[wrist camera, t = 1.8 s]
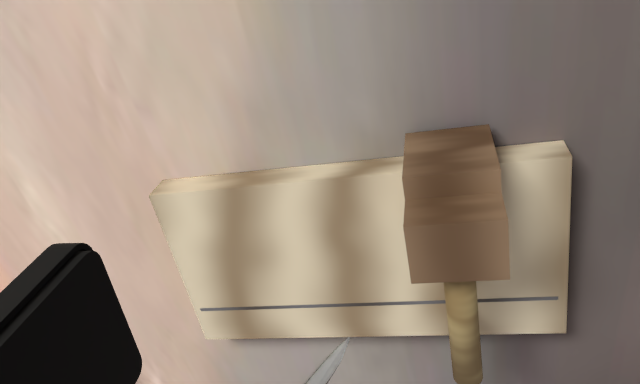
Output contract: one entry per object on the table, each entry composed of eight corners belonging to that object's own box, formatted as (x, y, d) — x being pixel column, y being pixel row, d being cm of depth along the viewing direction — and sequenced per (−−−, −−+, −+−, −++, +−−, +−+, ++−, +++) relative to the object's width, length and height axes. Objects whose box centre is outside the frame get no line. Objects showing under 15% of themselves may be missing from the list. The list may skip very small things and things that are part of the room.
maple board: (563, 140, 28) (572, 156, 27) (559, 310, 34) (566, 333, 32) (162, 180, 34) (148, 196, 32) (215, 319, 40) (205, 339, 38)
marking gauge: (489, 124, 28) (507, 195, 22) (497, 308, 34) (514, 406, 28) (405, 133, 29) (399, 203, 23) (428, 310, 35) (428, 405, 29)
